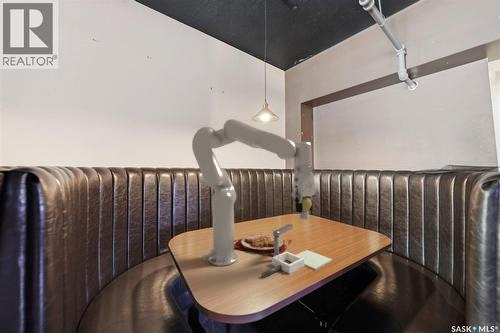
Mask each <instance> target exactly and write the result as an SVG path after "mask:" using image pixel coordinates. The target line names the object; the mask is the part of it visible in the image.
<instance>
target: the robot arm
mask: <svg viewBox="0 0 500 333" xmlns="http://www.w3.org/2000/svg"><path fill="white" fill-rule="evenodd" d="M236 142H238V143H239V142H240V143H242V144H243V145H246V146H249V147H251V148H254V149H260V150H265V151H268V152H270V153H273V154H275V155H276V156H277V157H278V158H279V159H281V160H285V161H286V160H290V159H291V160H292V159H293V162H294V163H293V164H294V173H293V183H292V184H293V185H292V186H293V187H292V188H293V189H292V193H291V194H290V196H291V197H292V199H293V201H294V203H295V212H297V213H299V214H300V213H302V212H303V210H302V203H301V201H302V197H308V198H310V200H311V202H312V203H313V202H314V197H315V194H316V185H315V179H314V173H313V162H312V160H313V157H312V156H313V154H312V143H311V142H309V141H298V142H296V143H295V142H293V141H291V140H290V139H288V138H285V137H283V136H281V135H279V134H275V133H272V132H268V131H265V130H262V129H259V128H257V127H255V126H251V125H249V124H247V123H244V122H241V121H240V120H237V119H233V118H231V119H227V120H226V121H225V122H224V123H223V127H222V128H221V129H217V130H215V129H214V128H212V127H210V126H203V127H201V128H199V129H198V130H197V131H196V132H195V133H194V135H193V138H192V140H191V148H192V152H193V155H194V158H195V161H196V162H197V165H198V167H199V169H200V170H199V171H201V174H202V175H201V176H202V177H203V179H204V182H205V184H206V185H207V186H208V187H210V188H213V190H214V193H213V195H212V198H211V212H212V213H211V214H212V249H210V252H208V253H207V254H202V257H201V258H202V261H205V260H208V261H209V263H210V264H212V265H215V266H220V267H222V266H223V267H224V266H229V265H232V264H234V263H236V262H237V261H238V258H239V257H238V254H237V253H236V252H235V248H234V244H235V242H234V240H235V211H234V210H235V208H234V204H235V202H236V200H237V191H236V190H235V187H234V185H233V182H232V180H231V179H230V176H229V174H228V172H227V171H226V169H224V168H222V167H221V166H220V164H219V162H218V159H217V157H216V155H215V153H214V151H213V149H217V148H221V147H225V146H226V145H227V146H228V145H229V144H233V143H236ZM299 197H300V198H299ZM298 198H299V199H298ZM308 211H313V204H312V205H311V208H310V209H309V210H308Z"/></svg>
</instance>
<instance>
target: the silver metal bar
mask: <svg viewBox="0 0 500 333" xmlns="http://www.w3.org/2000/svg"><path fill="white" fill-rule="evenodd" d="M293 226H294V225H293V224H291V223H288V224H286V225H284V226H282V227H280V228H277V229H276V230H273V231H272V232H273V233H272V234H273V235H272V236H273V237H274V236H276V237H278V236H279V237H280V236H281V235H283V234H285V233H287V232H288V231H290V230H293Z"/></svg>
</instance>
